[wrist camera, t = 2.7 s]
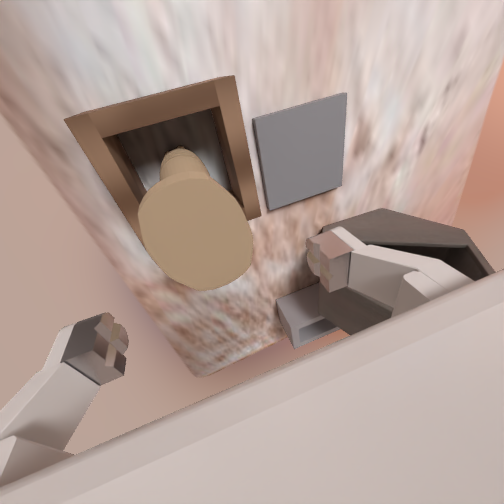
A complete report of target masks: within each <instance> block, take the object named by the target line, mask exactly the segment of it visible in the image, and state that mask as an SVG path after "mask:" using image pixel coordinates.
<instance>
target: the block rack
mask: <svg viewBox="0 0 504 504" xmlns="http://www.w3.org/2000/svg"><path fill="white" fill-rule="evenodd" d="M318 298H319V283H316V284H314V285H311V286H309V287H306V288H304V289H301V290H299V291H296V292H294V293H291V294H289V295H286V296H284V297H281V298H279V299H276V303H277V308H278V313H279V318H280V322H281V324H282V326H283V328H284V330H285V332H286V334H287V336H288V338H289V340H290V342H291V344H292V345H293V347H294V349H296V348H298V347H300V346H302V345H305V344H307V343H309V342H311V341H314V340H316V339H319V338H321V337H323V336H325V335H328V334H330V333H332V332H334V331H337V330H339V329H340V328H339V327H337V326H336V325H334V324H333V323H332V322H330V321H329V320H327V319H326V318H324V317H323V316H321V315H320V314H318Z"/></svg>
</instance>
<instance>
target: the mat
mask: <svg viewBox="0 0 504 504" xmlns="http://www.w3.org/2000/svg"><path fill="white" fill-rule="evenodd" d="M346 105H347V93H340V94H336V95H333V96H329V97H326V98H322V99H319V100H315V101H312V102H308V103H305V104H301V105H298V106H295V107H291V108H288V109H284V110H281V111H277V112H274V113H270V114H267V115H263V116H260V117H256V118H253V119H252V120H253V125H254V131H255V137H256V143H257V149H258V155H259V161H260V167H261V173H262V178H263V184H264V190H265V196H266V202H267V208H268V209H269V210H273V209H276V208H279V207H282V206H285V205H288V204H291V203H293V202H296V201H299V200H302V199H305V198H308V197H311V196H314V195H317V194H319V193H322V192H325V191H328V190H331V189H334V188H337V187H340V186H342V173H343V156H344V139H345V122H346Z"/></svg>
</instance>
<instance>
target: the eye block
mask: <svg viewBox="0 0 504 504" xmlns="http://www.w3.org/2000/svg"><path fill="white" fill-rule="evenodd" d="M206 109H211V112H212V116H213V120H214V124H215V128H216V131H217V135H218V139H219V143H220V146H221V150H222V154H223V158H224V161H225V165H226V169H227V173H228V176H229V180H230V184H231V188H232V190H229V191H228V192H229V193H230V194H231V195H232V196H233V197H234V198H235V199H236V201H237V202H238V204H239V205H240V207H241V209H242V211H243V213H244V215H245V217H246V219H247V221H249V220H251V219H254V218H257V217H260V216H261V210H260V205H259V200H258V195H257V190H256V185H255V179H254V174H253V169H252V164H251V159H250V153H249V148H248V143H247V138H246V133H245V128H244V122H243V117H242V112H241V107H240V102H239V97H238V91H237V86H236V81H235V76H234V75H232V76H224V77H218V78H214V79H210V80H206V81H202V82H199V83H195V84H191V85H187V86H183V87H179V88H175V89H171V90H168V91H164V92H160V93H156V94H152V95H148V96H144V97H140V98H137V99H133V100H129V101H125V102H121V103H117V104H113V105H109V106H106V107H102V108H98V109H94V110H90V111H86V112H83V113H80V114H77V115H74V116H72V117H69V118H66V119H64V121H65V123H66V124H67V126H68V127H69V129H70V131H71V132H72V134H73V135H74V137H75V138H76V140H77V142H78V143H79V145H80V146H81V148H82V150H83V151H84V153H85V154H86V156H87V157H88V159H89V161H90V162H91V164H92V165H93V167H94V168H95V170H96V172H97V173H98V175H99V176H100V178H101V180H102V181H103V183H104V184H105V186H106V187H107V189H108V191H109V192H110V194H111V195H112V197H113V198H114V200H115V202H116V203H117V205H118V206H119V208H120V210H121V211H122V213H123V214H124V216H125V217H126V219H127V221H128V222H129V224H130V225H131V227H132V228H133V230H134V232H135V233H136V235H137V236H138V238H139V240H140V241H141V243H142V244H143V246H144V247H145V245H144V243H143V238H142V234H141V229H140V224H139V218H138V210H139V205H140V203H141V201H142V199H143V197H144V196H145V194H146V193H147V192H146V190H145V188H144V186H143V184H142V182H141V180H140V178H139V176H138V174H137V172H136V170H135V169H134V167H133V165H132V163H131V161H130V159H129V157H128V155H127V153H126V151H125V149H124V147H123V146H122V144H121V142H120V140H119V138H118V136H117V134H119V133H122V132H126V131H130V130H133V129H137V128H141V127H144V126H148V125H152V124H155V123H159V122H163V121H166V120H170V119H173V118H177V117H181V116H184V115H188V114H192V113H195V112H199V111H203V110H206ZM145 249H146V248H145Z"/></svg>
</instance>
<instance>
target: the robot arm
mask: <svg viewBox="0 0 504 504" xmlns="http://www.w3.org/2000/svg"><path fill="white" fill-rule="evenodd" d="M306 248H307V249H308V250H309V251H308V253H307V262H308V265H309V268H310V269H311V271H312V272H313V274H314V275H316V276H319V277H320V282H321V283H322V285H323V286H324V287H325V288H326V289H327V291H328V292H329V293H330V292H332V291H335V290H338V289H341V288H343V287H346V286H348V287H350V288H352V289H354V290H356V291H359V292H361V293H363V294H365V295H367V296H370V297H372V298H374V299H376V300H378V301H380V302H383V303H385V304H387V305H389V306H391V307H394V309H393V312H392V316H391V318H390V319H387V320H385V321H383V322H380V323H378V324H376V325H373V326H371V327H369V328H367V329H364V330H362V331H360V332H357V333H355V334H353V335H350V336H348V337H346V338H344V339H341V340H339V341H337V342H334V343H332V344H330V345H328V346H325V347H323V348H320V349H318V350H316V351H314V352H311V353H309V354H307V355H304V356H302V357H300V358H297V359H295V360H293V361H290V362H288V363H286V364H284V365H281V366H279V367H277V368H274V369H272V370H270V371H267V372H265V373H263V374H260V375H258V376H256V377H254V378H252V379H249V380H247V381H244V382H242V383H240V384H238V385H235V386H233V387H231V388H228V389H226V390H224V391H221V392H219V393H217V394H215V395H212V396H210V397H208V398H205V399H203V400H201V401H198V402H196V403H194V404H192V405H189V406H187V407H185V408H182V409H180V410H178V411H176V412H173V413H171V414H169V415H166V416H164V417H162V418H160V419H157V420H155V421H152V422H150V423H148V424H145V425H143V426H141V427H139V428H136V429H134V430H132V431H129V432H127V433H125V434H122V435H120V436H118V437H116V438H113V439H111V440H109V441H106V442H104V443H102V444H99V445H97V446H95V447H92V448H91V449H88V450H86V451H84V452H81V453H79V454H76V455H74V454H71V453H68V452H65V451H63V450H64V448H65V446H66V445H67V443H68V441H69V440H70V438H71V436H72V435H73V433H74V431H75V429H76V428H77V426H78V424H79V423H80V421H81V419H82V418H83V416H84V414H85V412H86V411H87V409H88V407H89V406H90V404H91V402H92V401H93V399H94V397H95V396H96V394H97V392H98V390H99V389H100V386H101V385H103V384H105V383H107V382H110V381H112V380H114V379H117V378H119V377H121V376H124V371H125V365H126V357H125V356H124V355H123V354H124V352H125V351H126V350H127V348H128V342H129V340H128V335H127V332H126V330H125V328H124V327H123V326H122V325H120V324H117V323H114V317H113V316H112V315H111V314H110V313H103V314H100V315H97V316H94V317H91V318H88V319H85V320H82V321H79V322H77V323H74V324H71V325H68V326H66V327H63V328H62V329H61V330H60V331H59V333H58V336H57V338H56V340H55V342H54V345H53V347H52V349H51V351H50V353H49V356H48V358H47V360H46V363H45V365H44V367H43V369H42V371H40V372H37V373H36V374H35V375H34V376H33V377H32V378H31V379H30V380H29V381H28V382H27V383H26V385H24V387H23V388H22V389H21V390H20V391H19V392H18V393H17V394H16V395H15V396H14V397H13V398H12V399H11V400H10V401H9V402H8V403H7V404H6V405H5V407H3V409H2V410H1V411H0V504H504V269H502V270H500V271H498V272H496V273H493V274H491V275H489V276H486V277H484V278H482V279H479V280H477V281H474V280H472V279H470V278H469V277H467V276H465V275H464V274H462V273H461V272H459V271H457V270H456V269H454V268H452V267H451V266H449V265H448V264H446V263H444V262H443V261H441V260H439V259H435V258H430V257H425V256H421V255H416V254H412V253H407V252H402V251H398V250H393V249H389V248H384V247H379V246H375V245H365V244H364V243H363V242H361V241H360V240H359V239H357V238H356V237H355V236H353V235H352V234H351V233H349V232H348V231H347V230H345V229H344V228H343V227H340V226H339V227H336V228H333V229H331V230H328V231H326V232H324V233H321V234H318V235H316V236H313V237H310V238H308V239H306Z"/></svg>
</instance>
